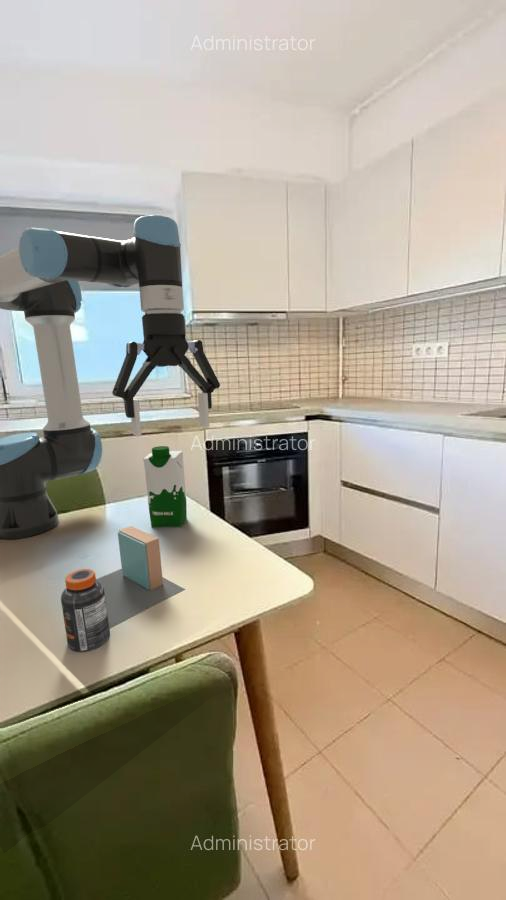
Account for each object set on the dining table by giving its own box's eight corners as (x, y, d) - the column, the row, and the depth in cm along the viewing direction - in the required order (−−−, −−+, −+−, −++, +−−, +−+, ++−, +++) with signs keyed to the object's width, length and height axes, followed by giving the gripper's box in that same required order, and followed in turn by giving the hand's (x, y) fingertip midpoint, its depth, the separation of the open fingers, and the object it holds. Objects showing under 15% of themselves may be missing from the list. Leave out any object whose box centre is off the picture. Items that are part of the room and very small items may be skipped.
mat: (62, 597, 79) (61, 593, 79) (135, 566, 90) (135, 562, 89) (108, 633, 68) (107, 629, 68) (185, 593, 79) (185, 589, 79)
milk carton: (146, 531, 107) (138, 450, 103) (158, 517, 116) (151, 442, 112) (182, 531, 106) (175, 449, 102) (191, 517, 115) (185, 441, 111)
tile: (122, 575, 85) (116, 531, 83) (135, 569, 87) (131, 526, 85) (149, 591, 79) (144, 543, 77) (163, 584, 81) (158, 538, 79)
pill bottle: (68, 637, 68) (57, 569, 65) (108, 627, 70) (100, 561, 68) (68, 662, 62) (57, 588, 60) (112, 649, 65) (103, 578, 62)
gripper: (96, 310, 70) (111, 442, 75) (234, 312, 83) (238, 424, 88) (85, 314, 76) (99, 436, 81) (215, 315, 89) (220, 420, 94)
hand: (172, 430), depth 84 cm, fingers open, 13 cm apart
